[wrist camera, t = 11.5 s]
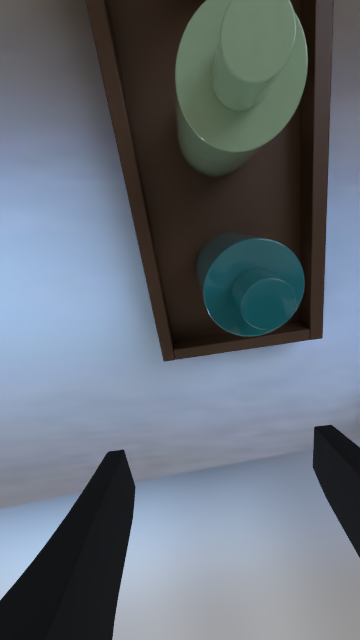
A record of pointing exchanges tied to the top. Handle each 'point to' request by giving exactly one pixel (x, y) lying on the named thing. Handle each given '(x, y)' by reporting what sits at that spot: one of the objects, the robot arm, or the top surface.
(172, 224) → the tray
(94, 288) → the top surface
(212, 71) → the green bottle middle
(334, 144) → the top surface
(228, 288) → the teal bottle
